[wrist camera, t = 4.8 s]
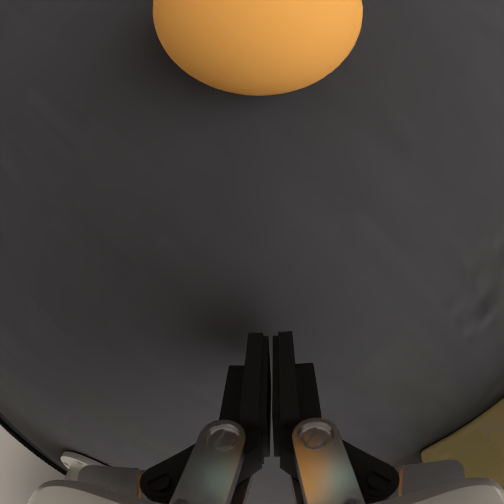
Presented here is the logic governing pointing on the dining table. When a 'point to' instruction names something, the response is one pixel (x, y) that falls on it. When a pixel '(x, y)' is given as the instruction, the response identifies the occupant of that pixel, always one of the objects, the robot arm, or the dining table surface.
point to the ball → (258, 41)
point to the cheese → (475, 446)
